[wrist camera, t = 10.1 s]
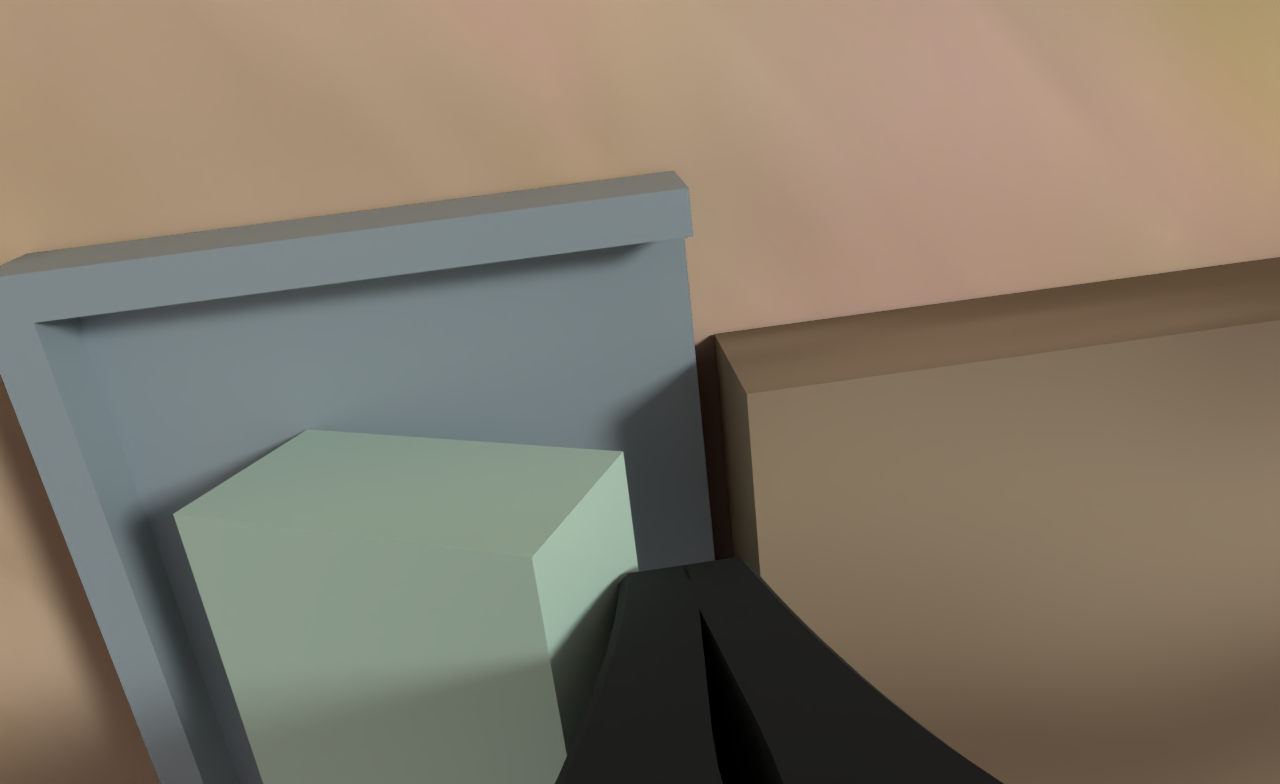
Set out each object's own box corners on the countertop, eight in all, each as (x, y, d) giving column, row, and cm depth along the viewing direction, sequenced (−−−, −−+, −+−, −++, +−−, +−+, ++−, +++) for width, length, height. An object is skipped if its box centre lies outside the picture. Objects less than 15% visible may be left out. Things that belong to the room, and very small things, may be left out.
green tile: (663, 760, 11) (594, 907, 9) (379, 704, 12) (276, 820, 11) (623, 451, 9) (531, 558, 8) (307, 428, 11) (172, 513, 9)
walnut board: (1284, 920, 16) (1379, 1036, 14) (772, 1006, 16) (802, 1136, 14) (1421, 238, 12) (1584, 276, 10) (714, 334, 11) (747, 393, 10)
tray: (755, 1010, 16) (770, 1084, 15) (325, 1082, 16) (308, 1163, 14) (673, 170, 11) (688, 187, 10) (27, 253, 10) (-36, 281, 9)
